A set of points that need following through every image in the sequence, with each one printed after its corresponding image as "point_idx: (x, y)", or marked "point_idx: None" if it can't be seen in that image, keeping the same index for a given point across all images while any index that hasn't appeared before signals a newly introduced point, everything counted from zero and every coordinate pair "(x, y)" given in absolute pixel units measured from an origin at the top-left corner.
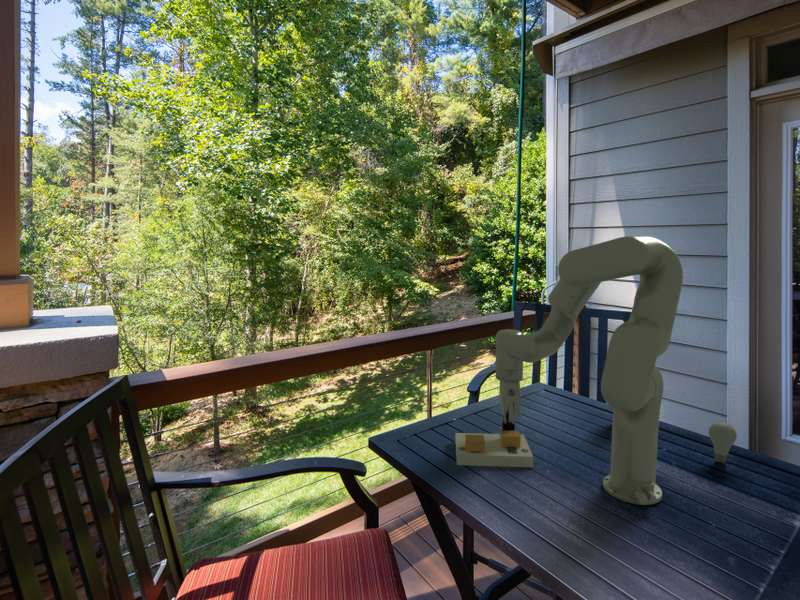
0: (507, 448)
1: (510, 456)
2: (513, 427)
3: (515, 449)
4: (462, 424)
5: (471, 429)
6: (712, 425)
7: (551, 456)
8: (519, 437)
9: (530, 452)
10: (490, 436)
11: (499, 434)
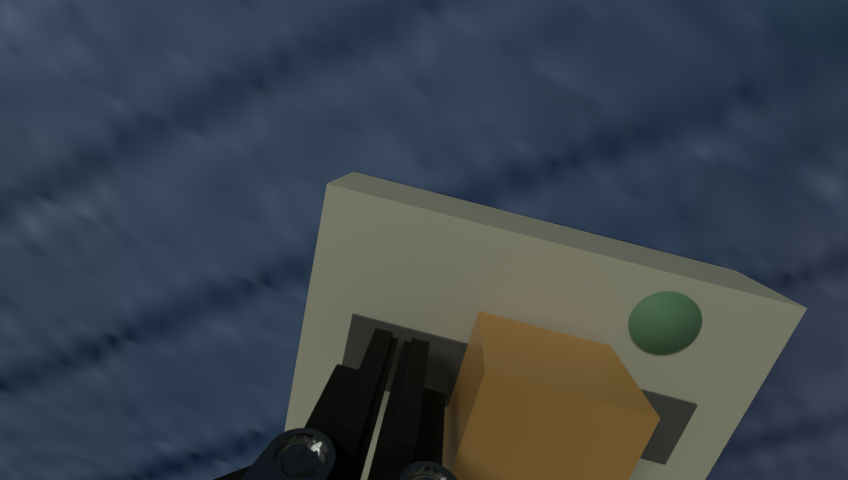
0: None
1: (710, 464)
2: (416, 412)
3: None
4: (13, 444)
5: (89, 421)
6: None
7: (616, 30)
8: (650, 423)
9: (717, 294)
10: None
11: (301, 389)
